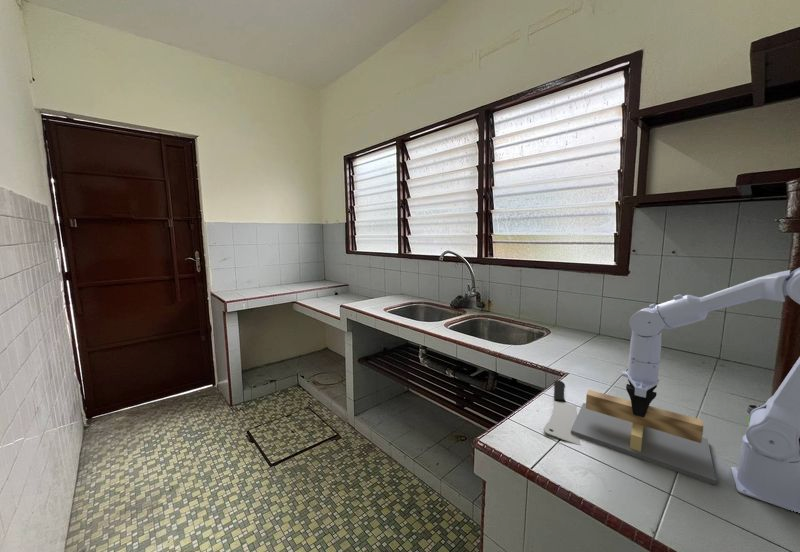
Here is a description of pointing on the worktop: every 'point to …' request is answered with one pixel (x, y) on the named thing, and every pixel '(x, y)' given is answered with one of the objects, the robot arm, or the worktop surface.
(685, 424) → the oak beam
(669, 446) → the ridge stand
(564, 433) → the kitchen cleaver
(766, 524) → the worktop surface
